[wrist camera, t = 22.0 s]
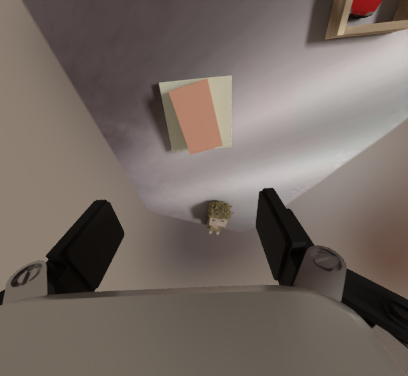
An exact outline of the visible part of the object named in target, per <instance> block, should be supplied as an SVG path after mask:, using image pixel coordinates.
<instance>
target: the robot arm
mask: <svg viewBox="0 0 408 376" xmlns="http://www.w3.org/2000/svg"><path fill="white" fill-rule="evenodd" d="M256 229H257V232H258V234H259V237H260V240H261V243H262V246H263V249H264V252H265V255H266V258H267V260H268V263H269V266H270V269H271V272H272V275H273V277H274V280H278V282H279V286H278V285H248V286H217V287H216V286H215V287H191V288H167V289H147V290H146V289H145V290H124V291H103V292H94V291H95V289H96V288H98V286H99V285H100V283H101V281H102V279H103V277H104V275H105V273H106V271H107V269H108V267H109V265H110V263H111V261H112V259H113V257H114V255H115V253H116V251H117V249H118V247H119V245H120V243H121V241H122V239H123V237H124V231H123V228H122V226H121V224H120V222H119V220H118V218H117V216H116V214H115V212H114V210H113V208H112V206H111V204H110V202H107V201H106V200H96V201H94V202H93V203H92V204H91V206H90V207H89V208H88V209H87V210H86V211H85V212H84V213H83V214H82V216H81V217H80V218H79V219H78V220H77V221H76V222H75V224H74V225H73V226H72V227H71V228H70V229H69V230H68V231H67V232H66V234H65V235H64V236H63V237H62V238H61V239H60V240H59V241H58V243H57V244H56V245H55V246H54V247H53V248H52V249H51V251H50V252H49V253H48V254H47V255H46V257H47V258H48V259H49V260H48V261H47V262H44V261H35V262H32V263H29V264H27V265H26V266H24V267H22V268H21V269H19V270H18V271H17V272H16V273H14V274H13V275H12V276H11V277H10V279H9V280H8V282H7V284H6V288H5V290H3V291H1V292H0V376H408V300H407V299H405V298H404V297H402V296H400V295H398V294H396V293H394V292H392V291H390V290H388V289H386V288H384V287H382V286H380V285H378V284H376V283H374V282H372V281H370V280H368V279H367V278H365V277H362V276H361V275H359V274H357V273H355V272H353V271H351V270H349V269H347V266H346V263H345V261H344V259H343V258H342V257H341V256H340V255H339V254H338V253H336V252H335V251H334V250H332V249H330V248H327V247H324V246H318V245H317V246H314V244H313V243H312V241H311V240H310V238H309V236H308V235H307V233H306V232H305V230H304V229H303V227H302V226H301V224H300V223H299V221H298V220H297V218H296V217H295V215H294V214H293V212H292V211H291V210H290V209H286V207H285V206H284V204H283V203H282V201H281V199H280V198H279V196H278V195H277V193H276V191H275V190H274V189H273V188H264V189H263V190H262V191H260V192H259V199H258V208H257V218H256ZM403 370H404V371H403Z"/></svg>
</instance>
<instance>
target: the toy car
mask: <svg viewBox="0 0 408 376" xmlns="http://www.w3.org/2000/svg"><path fill="white" fill-rule="evenodd" d="M381 1H382V0H353V2H352V6H351V9H350V13H349V17H353V18H366V17H368V16H371V15H372V14H373V13H374V11H375V10H376V9H377V7H378V6H379V4H380V3H381Z"/></svg>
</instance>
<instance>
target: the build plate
mask: <svg viewBox="0 0 408 376" xmlns="http://www.w3.org/2000/svg"><path fill="white" fill-rule="evenodd" d="M204 79H208V84H209V88H210V92H211V97H212V101H213V105H214V110H215V114H216V118H217V123H218V127H219V131H220V136H221V140H222V144H223V146H220V147H216V148H227V147H232V75H230V76H220V77H210V78H200V79H190V80H180V81H171V82H161V83H159V86H160V92H161V97H162V102H163V107H164V112H165V117H166V122H167V128H168V133H169V138H170V143H171V148H172V152H178V151H189V149H188V146H187V144H186V141H185V138H184V135H183V132H182V129H181V126H180V123H179V120H178V117H177V115H176V112H175V109H174V106H173V103H172V100H171V97H170V94H169V91H172V90H174V89H177V88H180V87H183V86H186V85H189V84H192V83H195V82H198V81H201V80H204ZM212 149H214V148H212Z"/></svg>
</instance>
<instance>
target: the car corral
mask: <svg viewBox="0 0 408 376" xmlns="http://www.w3.org/2000/svg"><path fill="white" fill-rule="evenodd" d="M352 2H353V0H334V1H333V5H332V9H331V14H330V18H329V22H328V27H327V31H326V36H325V39H335V38H344V37H353V36H362V35H372V34H381V33H390V32H396V31H401V30H405V29H408V0H400V2H399V5H398V8H397V10H396V13H395V16H394V18H393V21H392V22H383V23H374V24H365V25H356V26H347V27H346V24H347V20H348V17H349V13H350V9H351V6H352Z"/></svg>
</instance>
